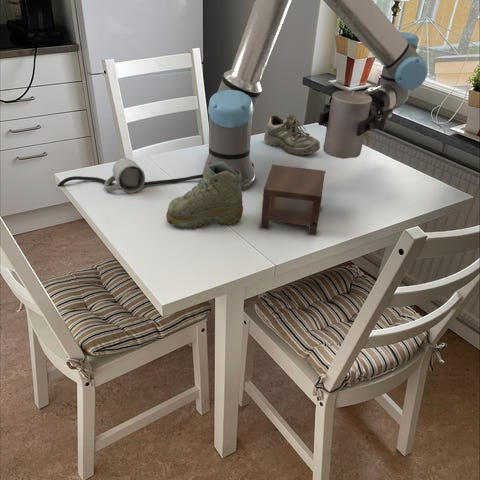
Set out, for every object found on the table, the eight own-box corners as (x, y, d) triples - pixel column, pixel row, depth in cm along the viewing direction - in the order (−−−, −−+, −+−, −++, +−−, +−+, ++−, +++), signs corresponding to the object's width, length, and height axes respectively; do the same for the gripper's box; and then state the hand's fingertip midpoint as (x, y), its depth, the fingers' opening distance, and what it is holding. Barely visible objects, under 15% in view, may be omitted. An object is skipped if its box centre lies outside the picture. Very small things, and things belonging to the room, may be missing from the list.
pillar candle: (329, 141, 136) (339, 82, 126) (365, 149, 133) (378, 89, 123) (317, 154, 129) (327, 92, 119) (354, 162, 126) (367, 99, 117)
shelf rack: (260, 227, 128) (263, 189, 121) (269, 201, 140) (272, 164, 133) (315, 235, 127) (322, 196, 120) (319, 207, 138) (325, 170, 131)
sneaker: (170, 206, 134) (168, 153, 124) (242, 211, 135) (246, 159, 124) (164, 230, 127) (161, 176, 116) (241, 236, 127) (245, 182, 116)
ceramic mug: (137, 178, 147) (134, 152, 142) (146, 190, 141) (144, 164, 136) (101, 185, 143) (97, 158, 138) (109, 197, 138) (105, 170, 133)
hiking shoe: (308, 155, 160) (319, 116, 157) (254, 144, 170) (264, 108, 168) (320, 162, 167) (331, 125, 165) (268, 151, 178) (278, 116, 176)
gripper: (412, 127, 135) (378, 152, 121) (337, 108, 145) (298, 129, 130) (420, 98, 130) (385, 120, 116) (342, 80, 140) (301, 98, 125)
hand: (339, 124), depth 123 cm, fingers closed on pillar candle, 10 cm apart
